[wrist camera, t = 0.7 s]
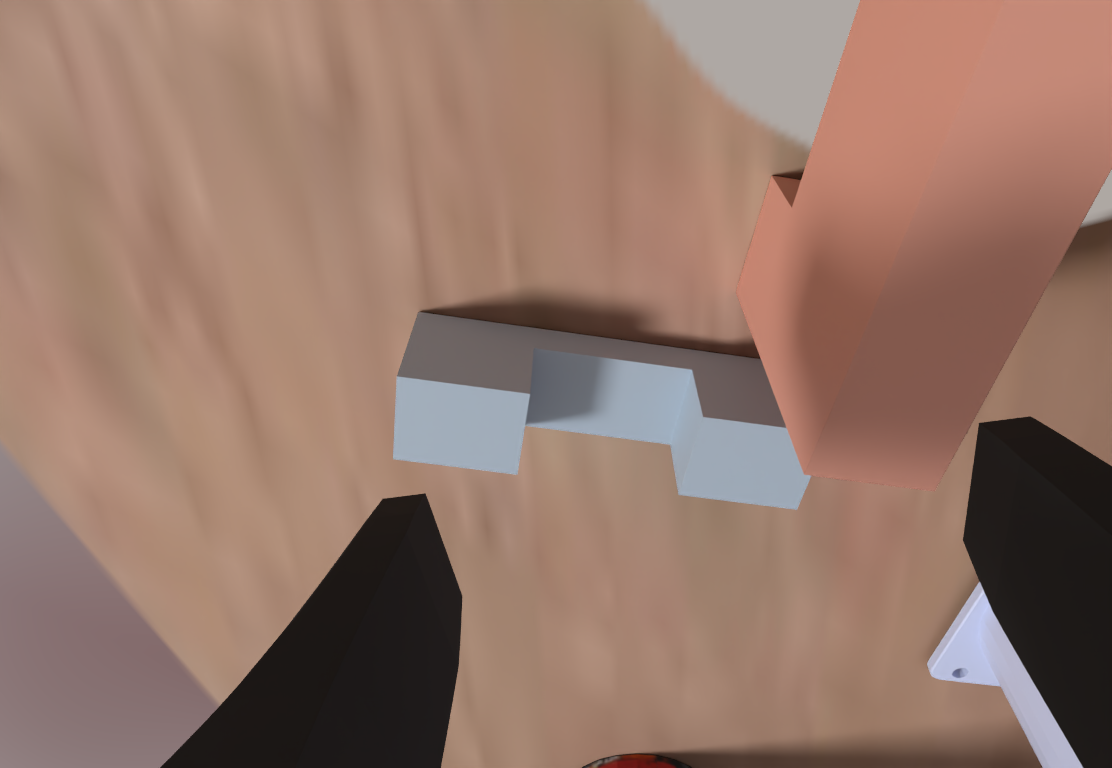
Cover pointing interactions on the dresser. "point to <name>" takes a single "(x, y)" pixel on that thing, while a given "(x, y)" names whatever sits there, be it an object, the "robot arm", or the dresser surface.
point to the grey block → (592, 405)
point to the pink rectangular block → (926, 225)
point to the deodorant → (637, 762)
